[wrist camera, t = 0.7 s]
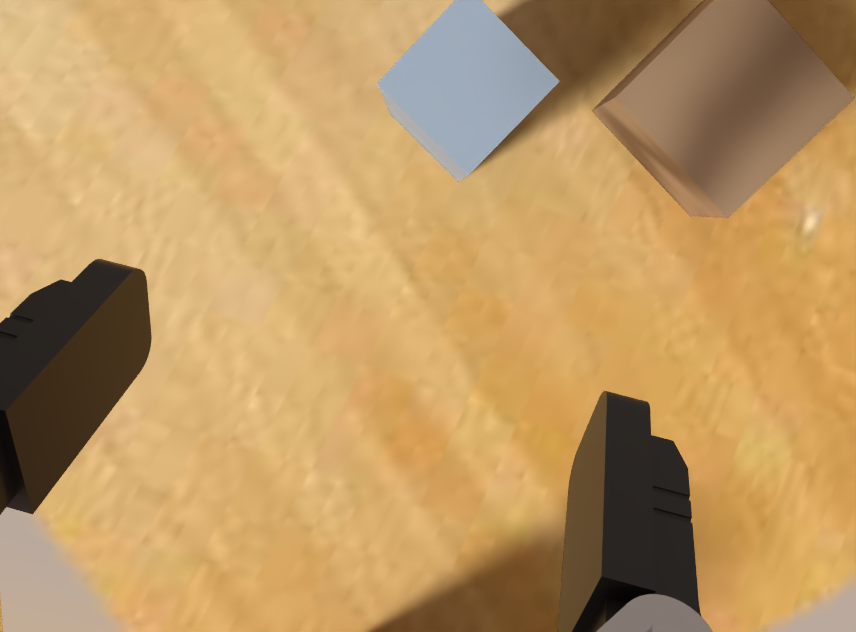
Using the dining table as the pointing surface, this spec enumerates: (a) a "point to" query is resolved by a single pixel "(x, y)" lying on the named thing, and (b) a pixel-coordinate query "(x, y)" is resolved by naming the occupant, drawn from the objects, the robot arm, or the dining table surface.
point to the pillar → (465, 86)
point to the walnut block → (723, 104)
